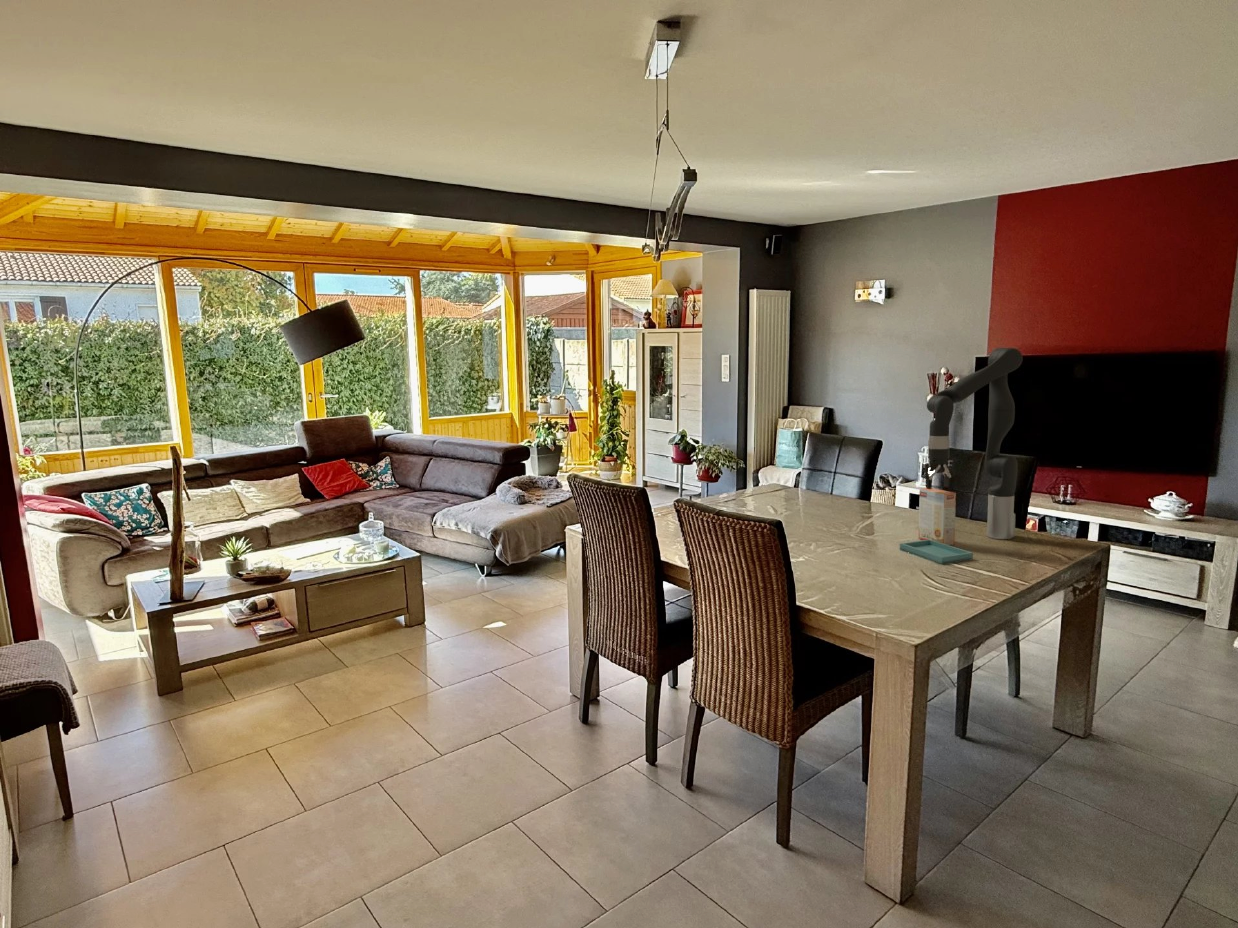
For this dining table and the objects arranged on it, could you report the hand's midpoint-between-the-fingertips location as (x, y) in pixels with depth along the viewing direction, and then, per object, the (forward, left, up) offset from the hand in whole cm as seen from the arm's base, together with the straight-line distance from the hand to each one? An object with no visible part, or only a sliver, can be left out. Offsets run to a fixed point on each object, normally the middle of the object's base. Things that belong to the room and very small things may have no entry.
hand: (937, 487), depth 288 cm
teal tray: (+13, +14, -22) cm, 29 cm away
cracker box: (0, 0, -22) cm, 22 cm away
